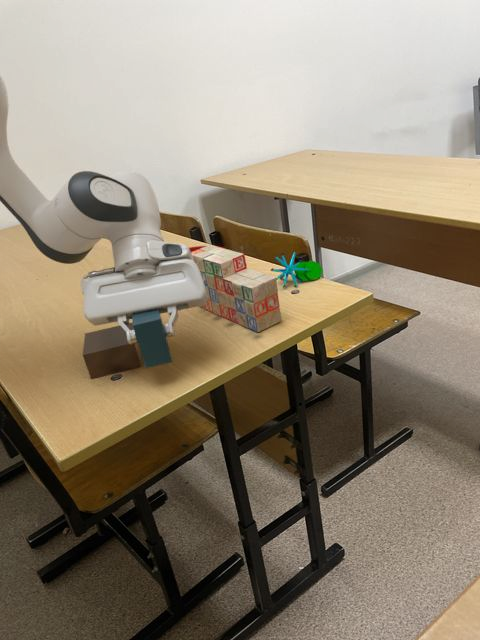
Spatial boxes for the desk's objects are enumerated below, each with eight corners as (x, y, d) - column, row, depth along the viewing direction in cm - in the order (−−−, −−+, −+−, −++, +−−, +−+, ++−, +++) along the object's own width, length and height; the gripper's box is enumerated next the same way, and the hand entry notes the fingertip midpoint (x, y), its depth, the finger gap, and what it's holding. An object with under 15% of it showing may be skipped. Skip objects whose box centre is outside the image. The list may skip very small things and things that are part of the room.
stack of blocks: (282, 321, 103) (274, 261, 97) (258, 333, 100) (247, 273, 94) (220, 296, 119) (210, 243, 113) (197, 306, 116) (185, 252, 110)
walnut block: (91, 379, 94) (82, 355, 92) (92, 356, 102) (84, 333, 99) (141, 366, 95) (134, 342, 93) (139, 345, 103) (132, 322, 101)
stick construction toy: (275, 284, 114) (272, 249, 115) (265, 293, 121) (263, 260, 122) (325, 286, 118) (323, 252, 119) (313, 294, 124) (311, 262, 126)
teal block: (145, 368, 86) (132, 325, 82) (144, 356, 90) (131, 314, 86) (172, 362, 87) (160, 318, 83) (169, 350, 91) (158, 308, 87)
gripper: (73, 265, 86) (81, 345, 82) (196, 243, 87) (210, 321, 83) (86, 281, 92) (94, 356, 88) (201, 260, 93) (214, 333, 89)
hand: (151, 339), depth 86 cm, fingers closed on teal block, 4 cm apart
